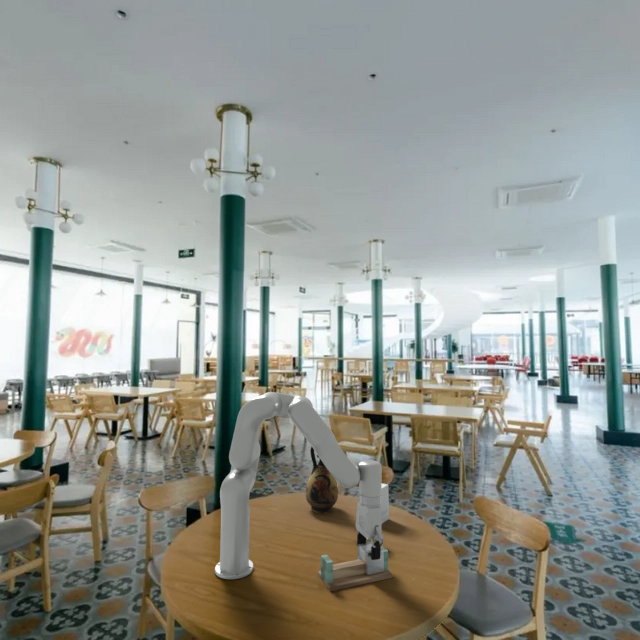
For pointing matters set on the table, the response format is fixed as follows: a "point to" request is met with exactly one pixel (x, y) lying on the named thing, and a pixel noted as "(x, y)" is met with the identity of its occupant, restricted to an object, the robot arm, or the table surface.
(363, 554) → the grey sliding block
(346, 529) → the table surface
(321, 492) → the ceramic jug
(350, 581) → the rail bed
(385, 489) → the supplement box
